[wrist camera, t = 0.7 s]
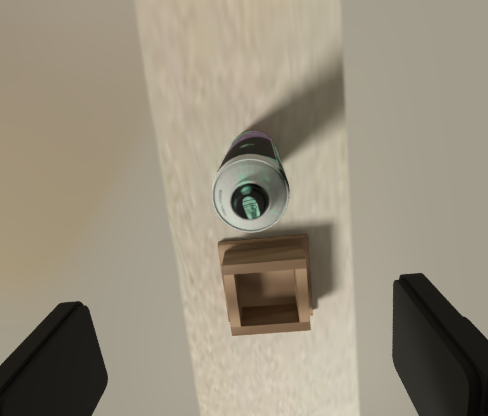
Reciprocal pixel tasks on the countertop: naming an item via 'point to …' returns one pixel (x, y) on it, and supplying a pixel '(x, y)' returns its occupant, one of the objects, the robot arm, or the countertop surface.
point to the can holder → (267, 284)
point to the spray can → (251, 184)
